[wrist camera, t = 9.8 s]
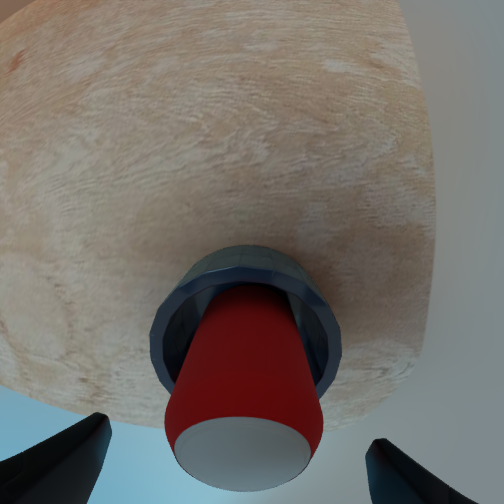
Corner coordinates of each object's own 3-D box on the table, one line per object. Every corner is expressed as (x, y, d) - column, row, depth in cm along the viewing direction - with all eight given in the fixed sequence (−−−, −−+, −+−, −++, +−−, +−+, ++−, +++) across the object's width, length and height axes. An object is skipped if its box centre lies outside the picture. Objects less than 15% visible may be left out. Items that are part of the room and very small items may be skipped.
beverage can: (307, 337, 20) (351, 474, 8) (230, 370, 21) (212, 509, 9) (269, 263, 19) (290, 375, 7) (187, 303, 20) (118, 428, 8)
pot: (334, 254, 19) (361, 278, 14) (305, 383, 22) (317, 430, 16) (177, 236, 19) (149, 253, 14) (173, 368, 21) (154, 413, 16)
